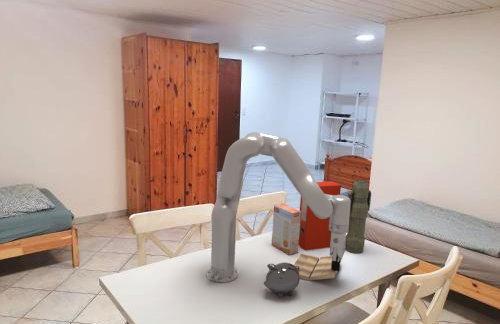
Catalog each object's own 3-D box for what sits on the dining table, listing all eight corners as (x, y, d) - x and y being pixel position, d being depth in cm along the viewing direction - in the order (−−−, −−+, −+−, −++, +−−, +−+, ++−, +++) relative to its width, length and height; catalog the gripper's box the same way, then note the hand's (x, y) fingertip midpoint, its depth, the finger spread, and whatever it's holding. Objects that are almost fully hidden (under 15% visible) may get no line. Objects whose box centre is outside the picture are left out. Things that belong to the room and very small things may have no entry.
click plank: (334, 277, 143) (333, 273, 143) (311, 280, 147) (310, 276, 147) (342, 257, 161) (341, 254, 161) (321, 260, 165) (320, 256, 165)
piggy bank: (257, 290, 139) (258, 262, 137) (289, 282, 146) (291, 255, 144) (272, 305, 129) (274, 275, 127) (306, 296, 136) (308, 267, 134)
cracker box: (298, 253, 173) (301, 211, 169) (288, 255, 170) (291, 212, 166) (280, 242, 185) (283, 202, 181) (271, 244, 181) (273, 204, 177)
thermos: (338, 248, 181) (345, 179, 174) (357, 244, 186) (364, 178, 179) (350, 255, 173) (357, 183, 166) (369, 252, 178) (377, 182, 171)
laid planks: (310, 281, 147) (310, 277, 147) (288, 275, 151) (288, 272, 151) (320, 261, 166) (321, 257, 165) (300, 256, 169) (301, 253, 169)
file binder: (335, 247, 182) (341, 185, 176) (304, 251, 176) (309, 186, 170) (326, 240, 189) (331, 181, 183) (296, 244, 183) (301, 182, 177)
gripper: (345, 234, 135) (341, 280, 139) (351, 222, 149) (347, 264, 152) (325, 231, 138) (322, 276, 142) (332, 219, 152) (329, 260, 155)
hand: (335, 269), depth 147 cm, fingers closed
